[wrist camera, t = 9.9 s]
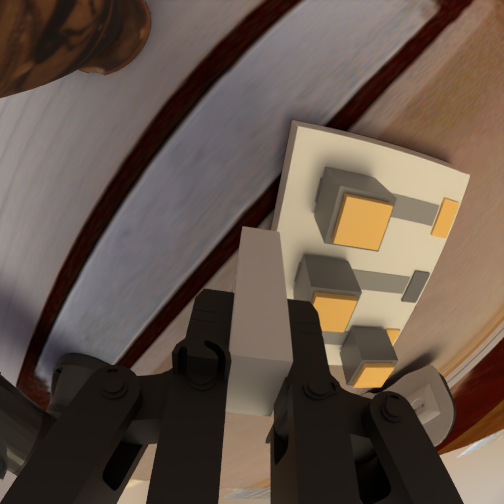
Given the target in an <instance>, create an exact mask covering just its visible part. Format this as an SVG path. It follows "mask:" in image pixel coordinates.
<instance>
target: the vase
mask: <svg viewBox="0 0 504 504" xmlns="http://www.w3.org/2000/svg"><path fill="white" fill-rule="evenodd" d="M150 22H151V21H150V12H149V9H148V7H147V5H146V3H145V2H144V0H0V98H3V97H6V96H10V95H13V94H17V93H20V92H24V91H27V90H30V89H33V88H36V87H39V86H42V85H45V84H47V83H50V82H52V81H55V80H57V79H59V78H62V77H64V76H66V75H68V74H70V73H72V72H74V71H76V70H78V69H79V70H80V71H83V72H86V73H89V72H99V73H102V74H103V75H107V74H110V73H113V72H115V71H117V70H119V69H121V68H123V67H124V66H126V65H127V64H129V63H130V62H131V61H132V60H133V59H134V58H135V57H136V56H137V54H138V53H139V52H140V51H141V49H142V48H143V46H144V44H145V42H146V40H147V38H148V34H149V31H150Z"/></svg>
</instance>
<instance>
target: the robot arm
mask: <svg viewBox="0 0 504 504" xmlns="http://www.w3.org/2000/svg"><path fill="white" fill-rule="evenodd" d="M172 364H173V368H172V369H170V370H169V371H166V372H164V373H161V374H156V375H147V376H136V374H135V373H134V372H133V371H131V370H130V369H128V368H127V367H123V366H120V365H107V364H106V363H104V362H101V361H99V360H97V359H94V358H92V357H88V356H85V355H80V354H67V355H63V356H62V357H60V358H59V360H58V362H57V364H56V366H55V368H54V370H53V376H52V385H51V396H50V403H49V406H48V408H47V410H46V411H45V410H44V409H42V408H41V407H40V406H38V405H37V404H36V403H34V402H33V401H32V400H30V399H29V398H28V397H27V396H25V395H24V394H23V393H22V392H20V391H19V390H18V389H17V388H16V387H14V386H13V385H12V384H11V383H10V382H9V381H7V380H6V379H5V378H4V377H3V376H2V375H1V372H0V481H3V479H4V476H5V474H6V472H7V470H8V471H10V472H12V473H13V474H15V475H16V476H17V478H16V479H15V481H14V482H13V484H12V486H11V487H10V488H9V490H8V492H7V493H6V495H5V496H4V498H3V499H2V501H1V502H0V504H117V502H118V500H119V498H120V496H121V494H122V493H123V490H124V489H125V487H126V485H127V483H128V482H129V480H130V478H131V476H132V474H133V472H134V471H135V469H136V467H137V465H138V463H139V461H140V459H141V458H142V456H143V454H144V452H145V450H146V448H147V447H148V445H149V444H156V443H158V444H157V449H156V453H155V458H154V463H153V469H152V474H151V479H150V484H149V490H148V496H147V501H146V504H218V499H219V486H220V473H221V460H222V448H223V436H224V424H225V412H228V413H238V414H248V415H259V416H271V414H272V412H273V409H274V423H273V425H272V427H271V430H270V432H269V434H268V436H267V439H266V443H268V444H269V443H270V454H271V504H464V503H463V501H462V499H461V497H460V495H459V493H458V491H457V489H456V487H455V485H454V483H453V481H452V479H451V477H450V475H449V473H448V471H447V469H446V468H445V466H444V464H443V462H442V460H441V458H440V456H439V454H438V452H437V451H436V449H435V447H434V445H433V443H432V441H431V440H430V438H429V436H428V434H427V432H426V431H425V429H424V427H423V425H422V423H421V422H420V420H419V418H418V416H417V415H416V413H415V411H414V409H413V408H412V406H411V404H410V403H409V402H408V400H407V399H406V398H405V397H403V396H402V395H400V394H399V393H396V392H392V391H382V392H380V393H378V394H376V395H375V396H374V397H373V399H370V398H366V397H363V396H360V395H356V394H353V393H350V392H348V391H346V390H344V389H343V388H341V386H340V384H339V382H338V381H337V380H336V379H335V378H334V377H333V376H332V375H331V373H330V370H329V365H328V360H327V355H326V349H325V344H324V339H323V336H322V329H321V326H320V319H319V314H318V312H317V310H316V309H315V307H314V306H313V305H312V303H311V302H310V301H302V300H294V299H287V293H286V284H285V275H284V266H283V257H282V248H281V240H280V232H277V231H271V230H264V229H257V228H250V227H244V226H243V227H242V233H241V240H240V246H239V253H238V260H237V266H236V273H235V280H234V288H233V293H232V292H225V291H218V290H211V289H204V290H203V291H202V292H201V293H200V294H199V295H198V296H197V297H196V298H195V302H194V306H193V310H192V313H191V317H190V321H189V325H188V329H187V333H186V337H185V339H183V340H182V341H180V342H179V343H178V344H176V346H175V348H174V350H173V351H172Z"/></svg>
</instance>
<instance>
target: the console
mask: <svg viewBox="0 0 504 504" xmlns="http://www.w3.org/2000/svg"><path fill="white" fill-rule="evenodd" d="M325 167H330V168H335V169H340V170H344V171H349V172H353V173H358V174H362V175H366V176H371V177H375V178H376V179H377V180H378V181H379V182H380V183H381V184H382V185H383V186H384V187H386V188H387V189H388V190H389V191H390V192H391V193H392V194H393V195H394V196H395V197H396V198H397V199H396V203H395V206H394V209H393V212H392V215H391V218H390V221H389V223H388V226H387V229H386V232H385V235H384V238H383V240H382V243H381V246H380V249H379V251H378V252H376V251H370V250H364V249H357V248H351V247H344V246H338V245H331V244H325V243H324V242H323V239H322V236H321V234H320V231H319V228H318V226H317V223H316V221H315V218H314V212H315V208H316V204H317V200H318V196H319V192H320V188H321V184H322V179H323V175H324V171H325ZM469 177H470V175H469V174H467V173H465V172H463V171H462V170H460V169H458V168H457V167H455V166H453V165H451V164H449V163H447V162H445V161H442V160H439V159H436V158H434V157H431V156H428V155H425V154H422V153H419V152H416V151H413V150H410V149H407V148H403V147H400V146H397V145H393V144H390V143H387V142H383V141H380V140H376V139H373V138H369V137H365V136H361V135H357V134H354V133H350V132H345V131H341V130H337V129H333V128H328V127H324V126H319V125H315V124H310V123H305V122H300V121H294V120H292V122H291V128H290V133H289V138H288V144H287V149H286V154H285V159H284V165H283V170H282V175H281V180H280V185H279V191H278V196H277V201H276V206H275V211H274V216H273V221H272V226H271V231H277V232H280V240H281V248H282V257H283V266H284V275H285V284H286V293H287V299H294V297H293V291H294V287H295V284H296V280H297V276H298V273H299V269H300V266H301V262H302V258H303V255H311V256H318V257H326V258H333V259H340V260H347V261H349V263H350V265H351V268H352V270H353V272H354V275H355V277H356V279H357V281H358V284H359V286H360V289H361V291H362V294H361V296H360V299H359V301H358V303H357V306H356V308H355V310H354V312H353V315H352V317H351V319H350V321H349V324H348V326H347V328H346V330H345V331H344V332H331V331H322V336H323V339H324V344H325V349H326V355H327V360H328V365H342V362H341V358H340V354H339V353H340V351H341V349H342V347H343V345H344V343H345V341H346V339H347V337H348V335H349V333H350V331H351V329H352V327H356V328H372V329H386V331H387V333H388V336H389V338H390V341H391V343H392V346H393V345H394V343H395V341H396V340H397V338H398V336H399V334H400V333H401V331H402V329H403V327H404V326H405V324H406V322H407V320H408V319H409V317H410V315H411V313H412V311H413V309H414V307H415V306H416V304H417V302H418V300H419V298H420V296H421V294H422V292H423V290H424V288H425V286H426V284H427V282H428V280H429V278H430V276H431V274H432V271H433V269H434V267H435V265H436V263H437V261H438V258H439V256H440V254H441V252H442V249H443V247H444V245H445V242H446V240H447V238H448V235H449V233H450V230H451V228H452V225H453V223H454V220H455V217H456V215H457V212H458V209H459V207H460V204H461V201H462V198H463V196H464V193H465V190H466V187H467V184H468V181H469Z"/></svg>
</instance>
